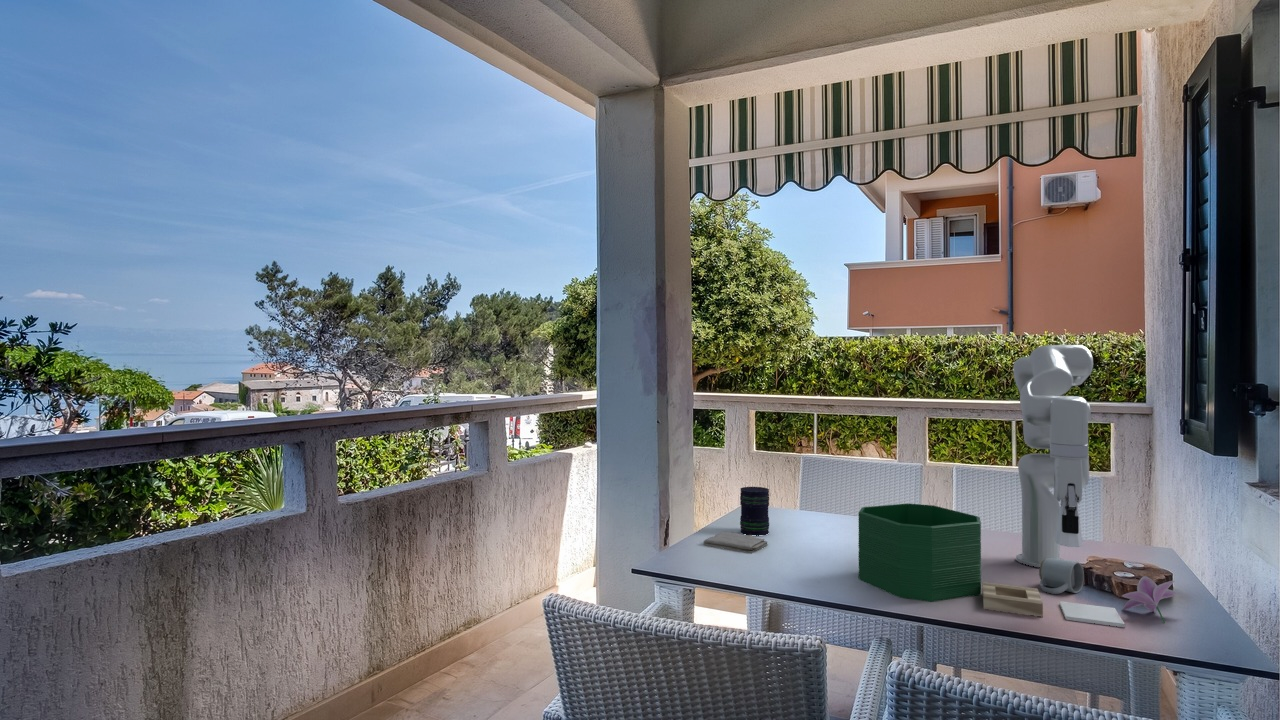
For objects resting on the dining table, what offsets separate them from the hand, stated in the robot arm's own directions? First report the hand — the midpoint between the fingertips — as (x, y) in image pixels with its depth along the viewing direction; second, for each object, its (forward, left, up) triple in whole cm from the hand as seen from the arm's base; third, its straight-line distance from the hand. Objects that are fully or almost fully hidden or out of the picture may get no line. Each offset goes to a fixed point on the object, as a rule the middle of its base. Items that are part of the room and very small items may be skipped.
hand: (1069, 529), depth 159 cm
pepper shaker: (0, 0, -3) cm, 3 cm away
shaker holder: (0, -12, -19) cm, 22 cm away
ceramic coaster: (0, +4, -19) cm, 20 cm away
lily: (-5, +16, -19) cm, 26 cm away
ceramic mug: (-18, 0, -19) cm, 27 cm away
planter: (-9, -33, -19) cm, 39 cm away
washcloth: (-25, -88, -20) cm, 93 cm away
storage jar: (-44, -87, -19) cm, 99 cm away
